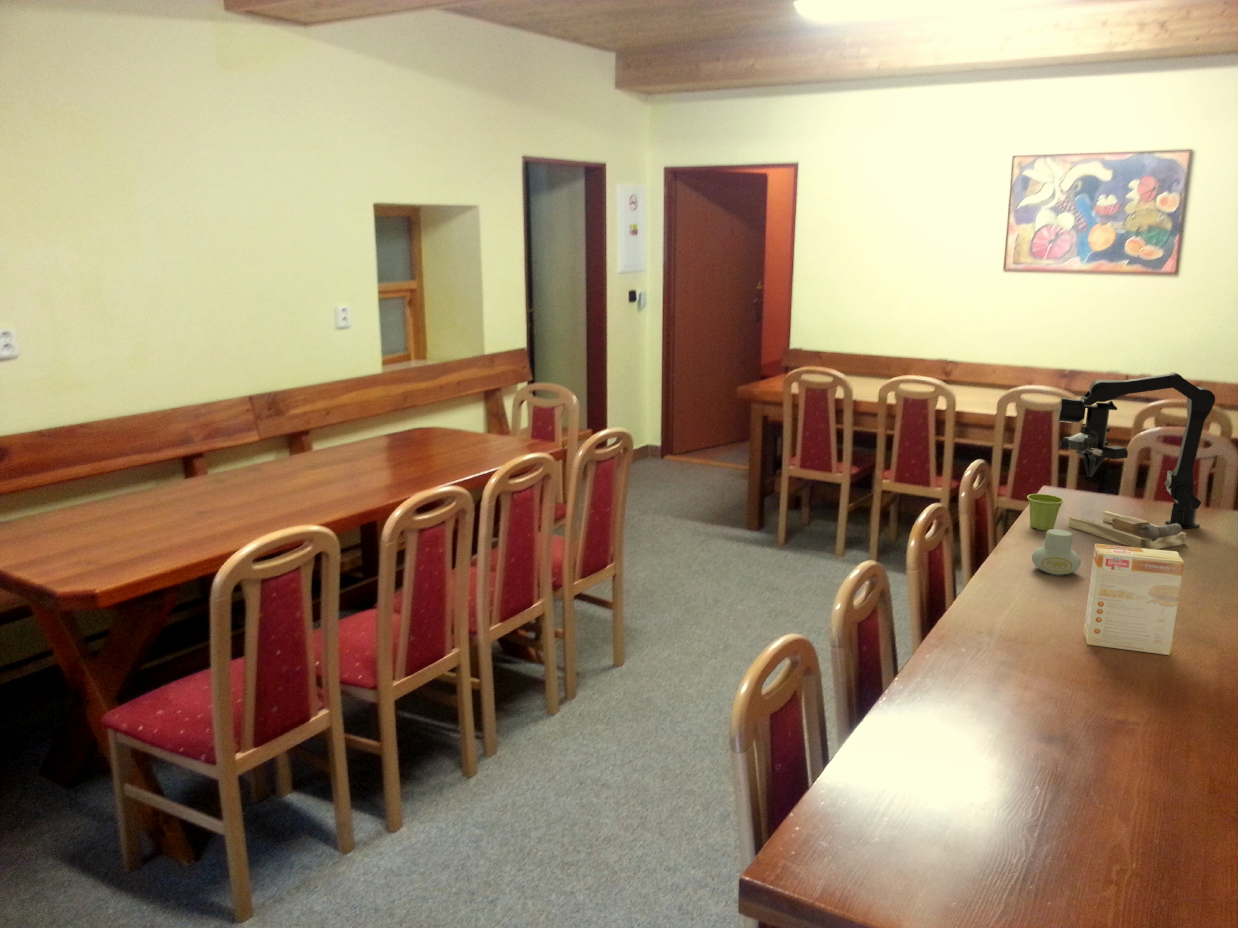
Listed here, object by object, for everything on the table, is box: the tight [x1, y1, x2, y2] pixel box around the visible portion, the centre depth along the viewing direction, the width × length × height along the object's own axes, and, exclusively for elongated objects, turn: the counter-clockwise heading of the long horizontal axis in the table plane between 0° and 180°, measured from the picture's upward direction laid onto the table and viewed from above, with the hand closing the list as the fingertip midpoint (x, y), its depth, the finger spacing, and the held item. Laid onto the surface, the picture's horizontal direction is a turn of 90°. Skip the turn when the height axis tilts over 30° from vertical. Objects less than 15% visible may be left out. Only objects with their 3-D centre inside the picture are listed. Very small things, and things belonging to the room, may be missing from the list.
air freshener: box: [1031, 528, 1082, 576], centre depth 233 cm, size 11×8×10 cm
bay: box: [1067, 510, 1187, 550], centre depth 263 cm, size 16×25×7 cm, turn 25°
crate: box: [1112, 515, 1151, 538], centre depth 262 cm, size 6×7×5 cm
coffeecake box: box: [1083, 543, 1185, 656], centre depth 190 cm, size 15×7×20 cm, turn 71°
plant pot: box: [1026, 493, 1065, 532], centre depth 269 cm, size 9×9×9 cm
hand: (1089, 476), depth 280 cm, fingers closed
